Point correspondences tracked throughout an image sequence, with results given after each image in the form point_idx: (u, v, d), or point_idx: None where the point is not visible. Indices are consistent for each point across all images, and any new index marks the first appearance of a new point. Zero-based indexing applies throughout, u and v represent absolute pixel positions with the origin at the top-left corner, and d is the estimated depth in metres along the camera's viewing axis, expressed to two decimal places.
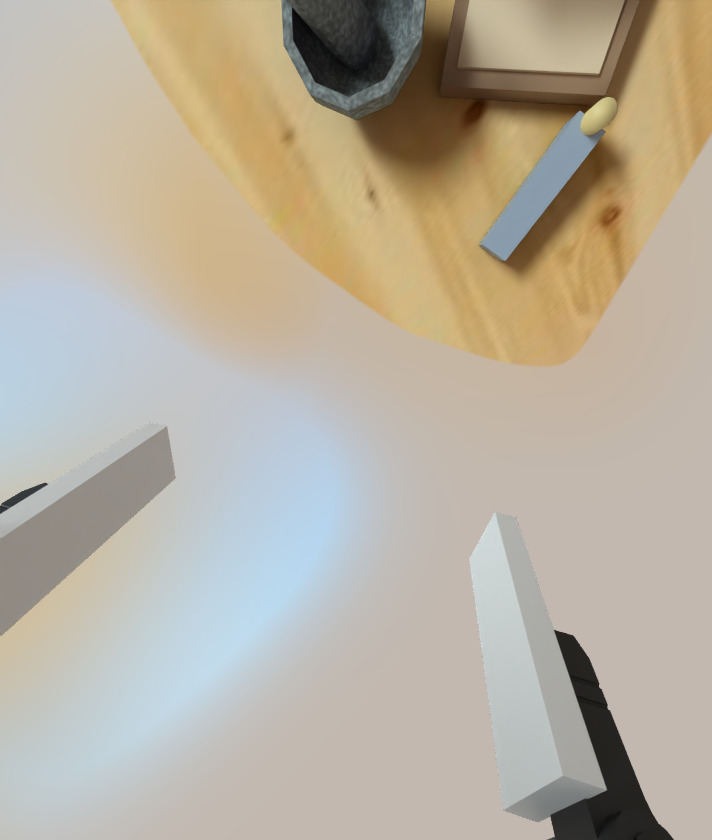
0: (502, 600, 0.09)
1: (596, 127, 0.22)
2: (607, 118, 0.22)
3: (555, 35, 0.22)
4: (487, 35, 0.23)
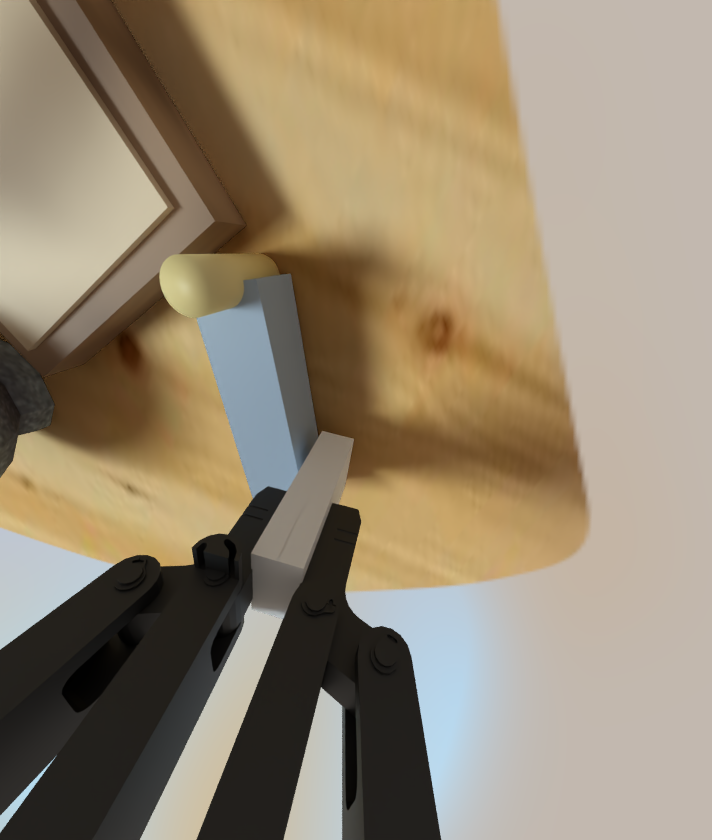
0: None
1: (203, 314, 0.09)
2: (201, 289, 0.08)
3: (65, 222, 0.11)
4: (12, 295, 0.12)
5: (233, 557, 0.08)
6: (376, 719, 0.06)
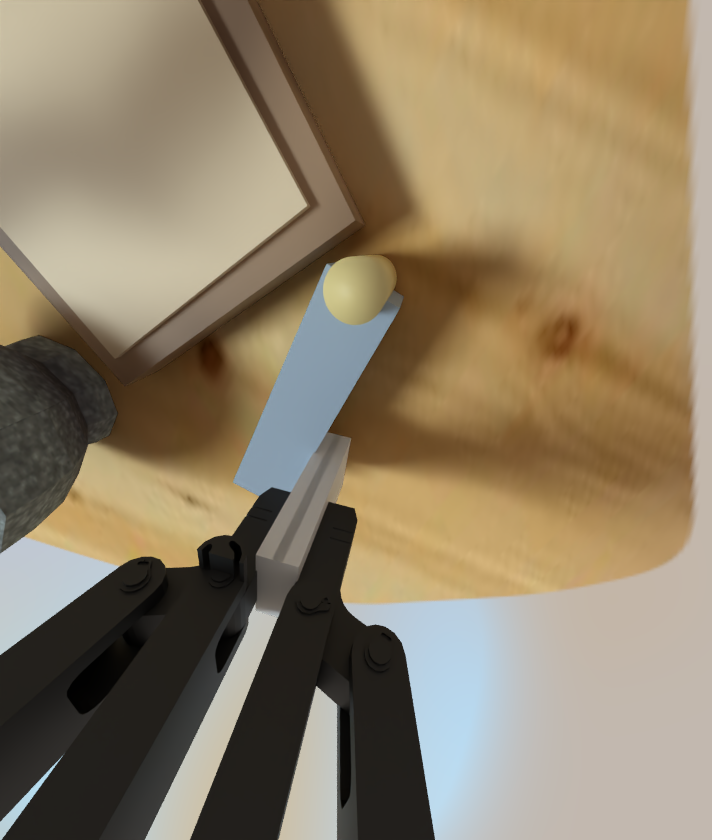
0: None
1: (348, 322, 0.08)
2: (367, 304, 0.08)
3: (184, 221, 0.10)
4: (107, 300, 0.12)
5: (238, 559, 0.08)
6: (370, 717, 0.06)
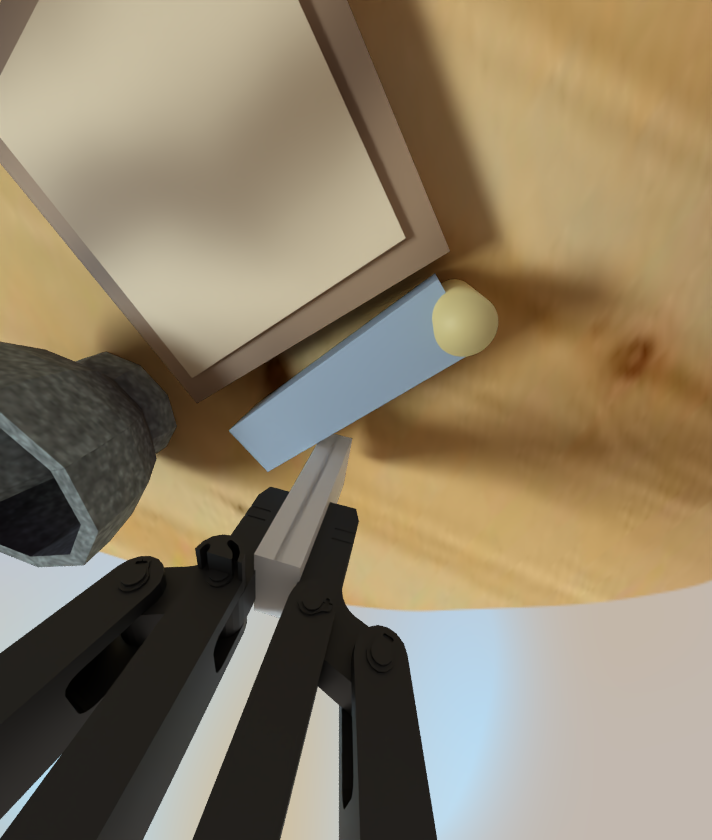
0: None
1: (444, 348, 0.09)
2: (470, 342, 0.08)
3: (279, 251, 0.10)
4: (192, 323, 0.12)
5: (236, 558, 0.08)
6: (372, 718, 0.06)
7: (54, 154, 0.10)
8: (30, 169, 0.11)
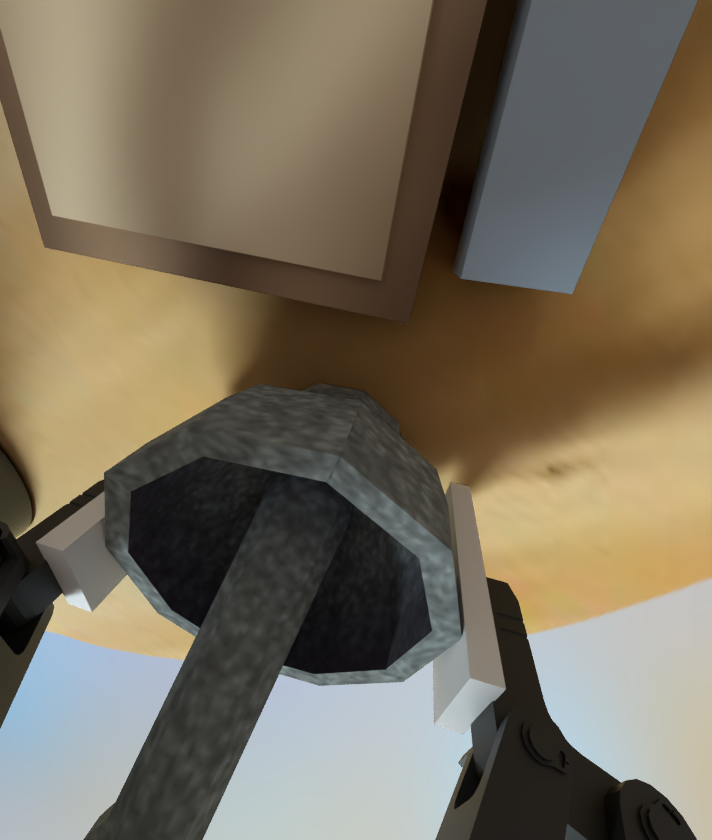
0: None
1: None
2: None
3: None
4: (329, 192, 0.08)
5: None
6: None
7: (104, 170, 0.08)
8: (105, 221, 0.09)
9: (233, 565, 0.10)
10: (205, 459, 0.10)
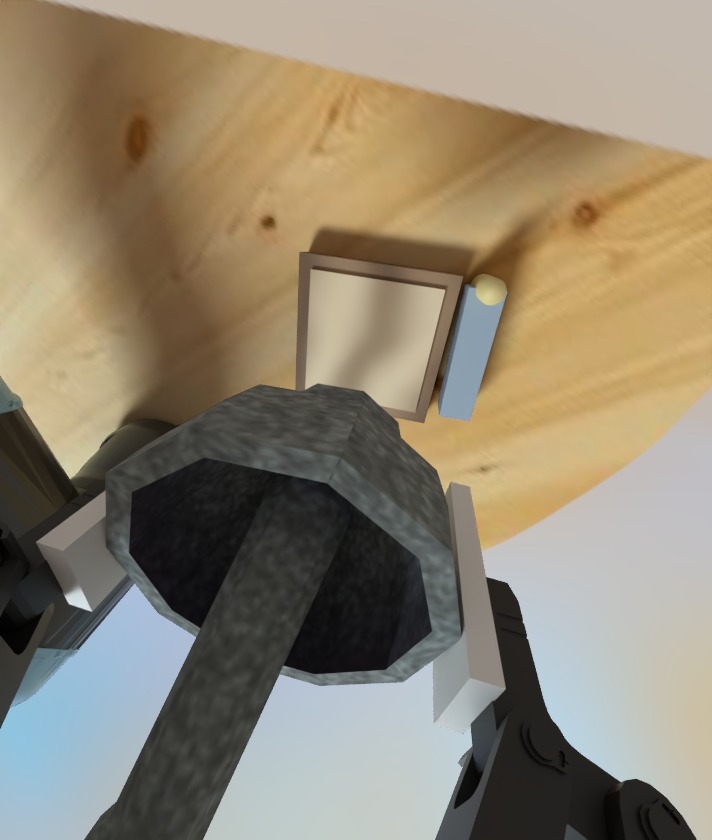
0: None
1: (493, 304, 0.20)
2: (499, 294, 0.20)
3: (409, 337, 0.24)
4: (400, 391, 0.26)
5: None
6: None
7: (328, 381, 0.27)
8: None
9: (233, 565, 0.10)
10: (205, 460, 0.10)
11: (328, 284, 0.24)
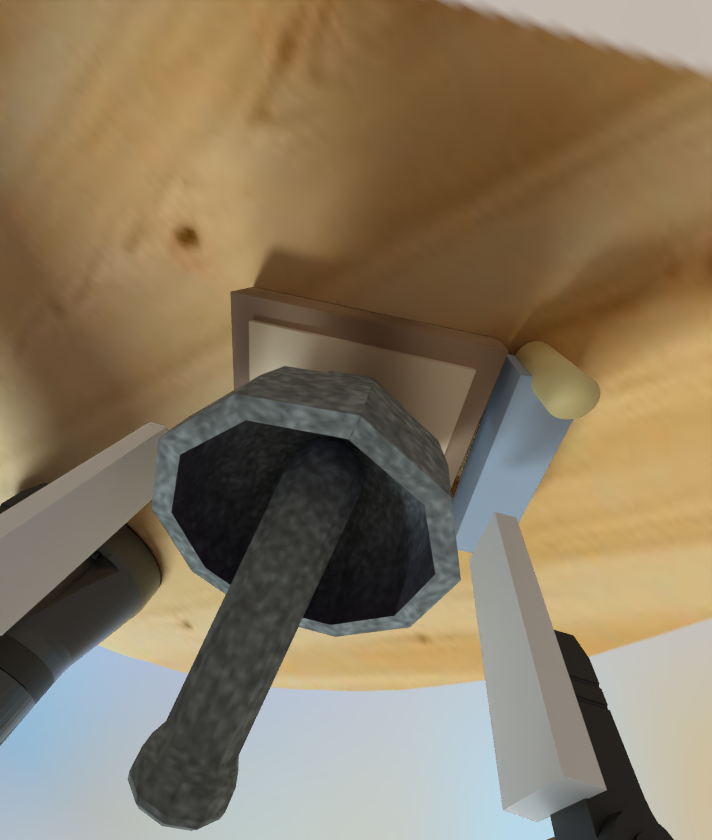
0: (502, 600, 0.09)
1: (569, 417, 0.11)
2: (585, 402, 0.10)
3: None
4: None
5: None
6: None
7: None
8: None
9: (260, 527, 0.11)
10: (233, 436, 0.12)
11: (279, 346, 0.14)
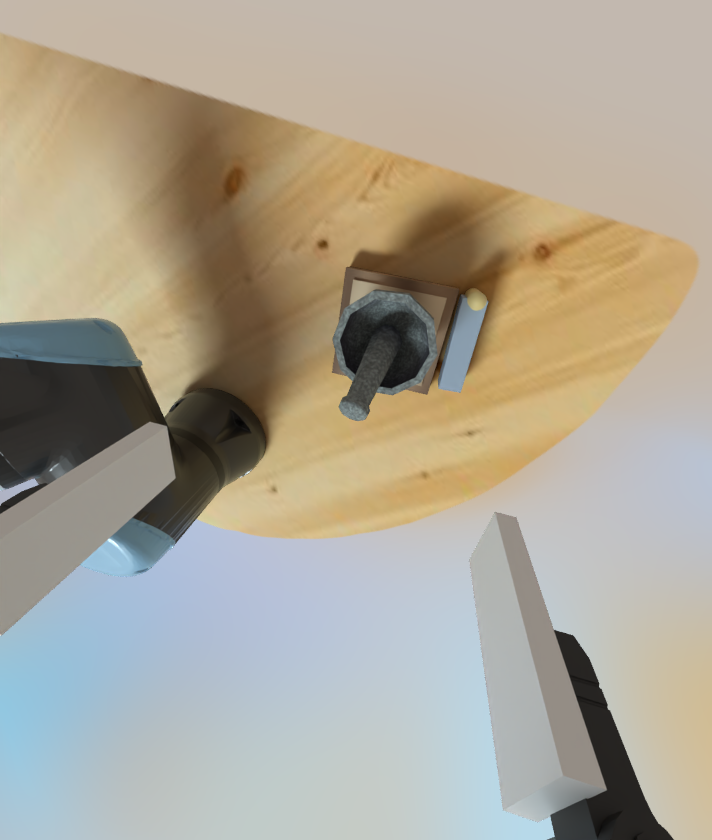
0: (502, 600, 0.09)
1: (477, 310, 0.30)
2: (482, 303, 0.30)
3: None
4: None
5: None
6: None
7: None
8: None
9: (366, 351, 0.30)
10: (354, 320, 0.31)
11: (365, 290, 0.33)
